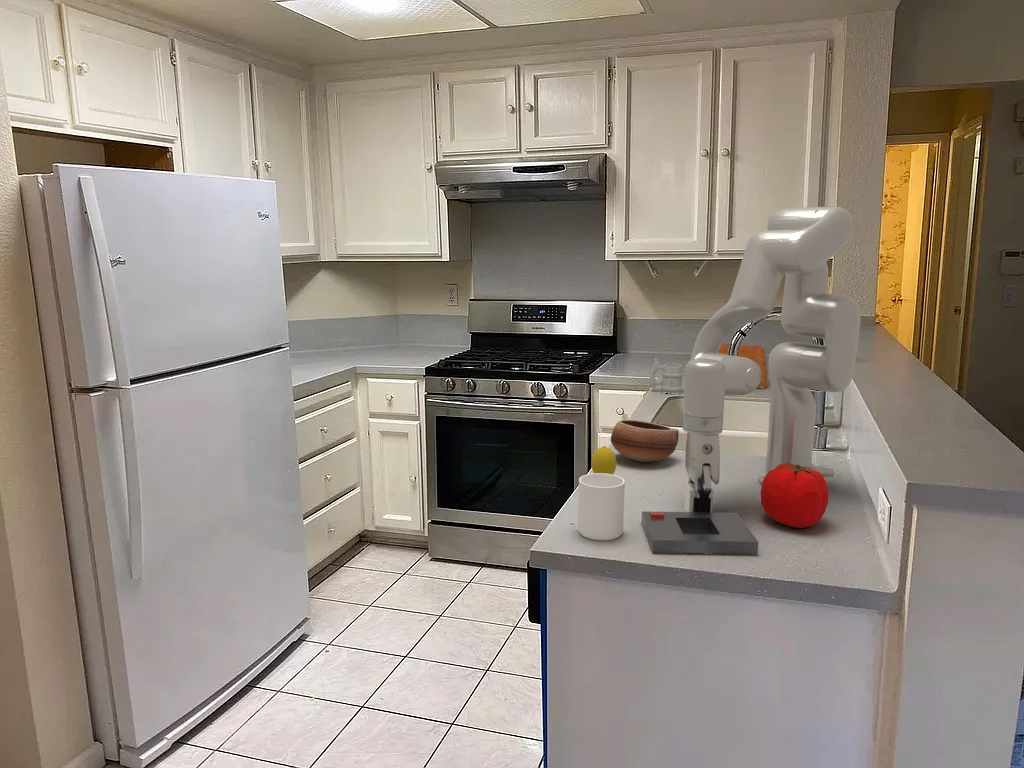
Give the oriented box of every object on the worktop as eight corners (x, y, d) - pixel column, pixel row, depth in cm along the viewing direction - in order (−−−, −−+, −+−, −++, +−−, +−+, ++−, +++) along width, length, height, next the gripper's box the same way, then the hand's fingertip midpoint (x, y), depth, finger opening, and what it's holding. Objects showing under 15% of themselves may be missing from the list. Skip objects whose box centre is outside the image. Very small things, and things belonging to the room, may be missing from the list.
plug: (706, 509, 151) (708, 474, 150) (711, 517, 147) (714, 481, 145) (684, 509, 151) (686, 473, 150) (688, 517, 147) (690, 480, 146)
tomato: (774, 536, 138) (779, 475, 136) (747, 510, 151) (750, 455, 149) (839, 534, 139) (844, 474, 136) (806, 509, 152) (810, 454, 150)
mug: (682, 395, 264) (684, 361, 261) (648, 393, 266) (649, 360, 264) (682, 390, 271) (683, 358, 269) (649, 389, 273) (650, 356, 271)
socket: (736, 524, 143) (737, 509, 143) (757, 555, 129) (758, 538, 129) (641, 523, 144) (641, 508, 143) (652, 553, 130) (653, 536, 129)
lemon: (599, 475, 173) (600, 441, 172) (620, 480, 170) (621, 445, 168) (586, 480, 169) (587, 446, 167) (607, 485, 166) (608, 450, 164)
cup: (576, 539, 136) (577, 486, 134) (580, 516, 147) (581, 466, 146) (622, 542, 135) (624, 488, 133) (623, 518, 146) (625, 468, 144)
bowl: (688, 462, 183) (690, 422, 182) (645, 474, 174) (646, 432, 172) (640, 448, 196) (641, 411, 194) (597, 459, 186) (598, 419, 184)
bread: (695, 379, 295) (697, 341, 292) (767, 383, 286) (769, 344, 284) (692, 385, 282) (694, 345, 279) (767, 390, 273) (770, 349, 271)
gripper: (733, 434, 137) (727, 528, 141) (712, 413, 154) (707, 497, 157) (692, 433, 137) (687, 527, 141) (675, 412, 154) (671, 497, 158)
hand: (698, 510), depth 149 cm, fingers open, 5 cm apart
